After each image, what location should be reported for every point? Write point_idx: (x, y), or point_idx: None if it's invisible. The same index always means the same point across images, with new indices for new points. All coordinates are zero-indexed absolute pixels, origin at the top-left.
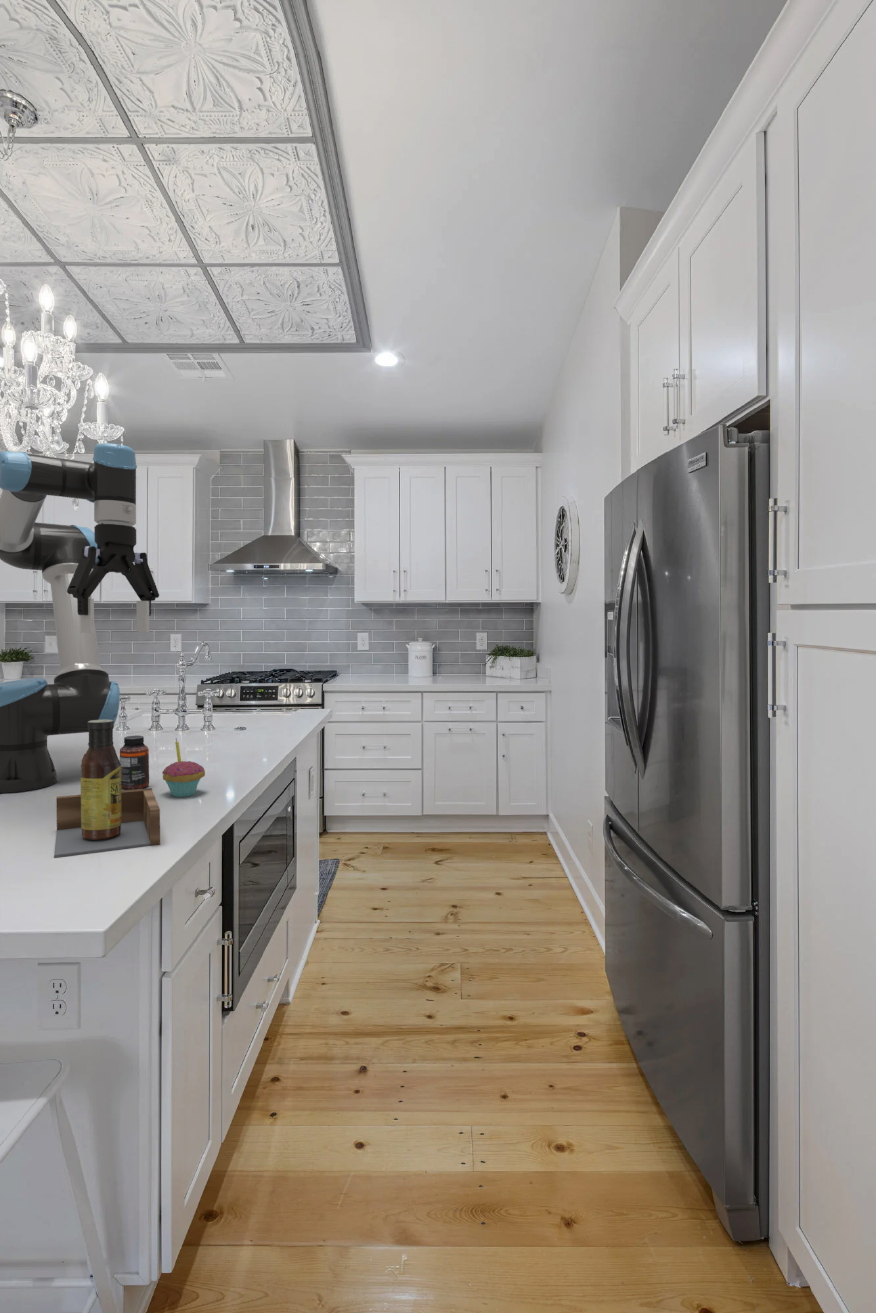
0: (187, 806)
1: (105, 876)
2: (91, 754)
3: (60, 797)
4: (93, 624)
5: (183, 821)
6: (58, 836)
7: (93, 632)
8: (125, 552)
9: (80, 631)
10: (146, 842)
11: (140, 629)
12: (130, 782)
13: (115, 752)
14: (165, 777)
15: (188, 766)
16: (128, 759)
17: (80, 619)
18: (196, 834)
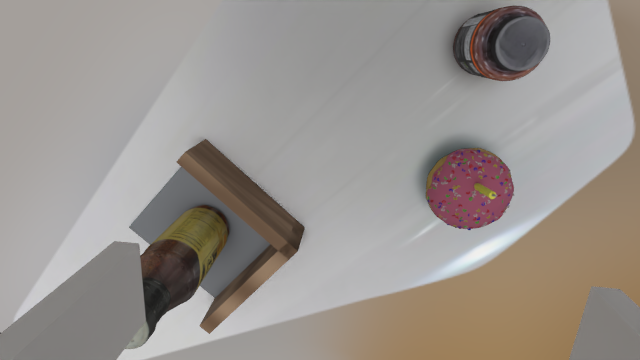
0: (387, 231)
1: None
2: None
3: (184, 162)
4: (113, 357)
5: (316, 273)
6: (178, 174)
7: (140, 321)
8: None
9: (109, 246)
10: (214, 292)
11: (592, 330)
12: (457, 58)
13: (170, 309)
14: (430, 174)
15: (458, 217)
16: (469, 56)
17: (56, 290)
18: (275, 319)
